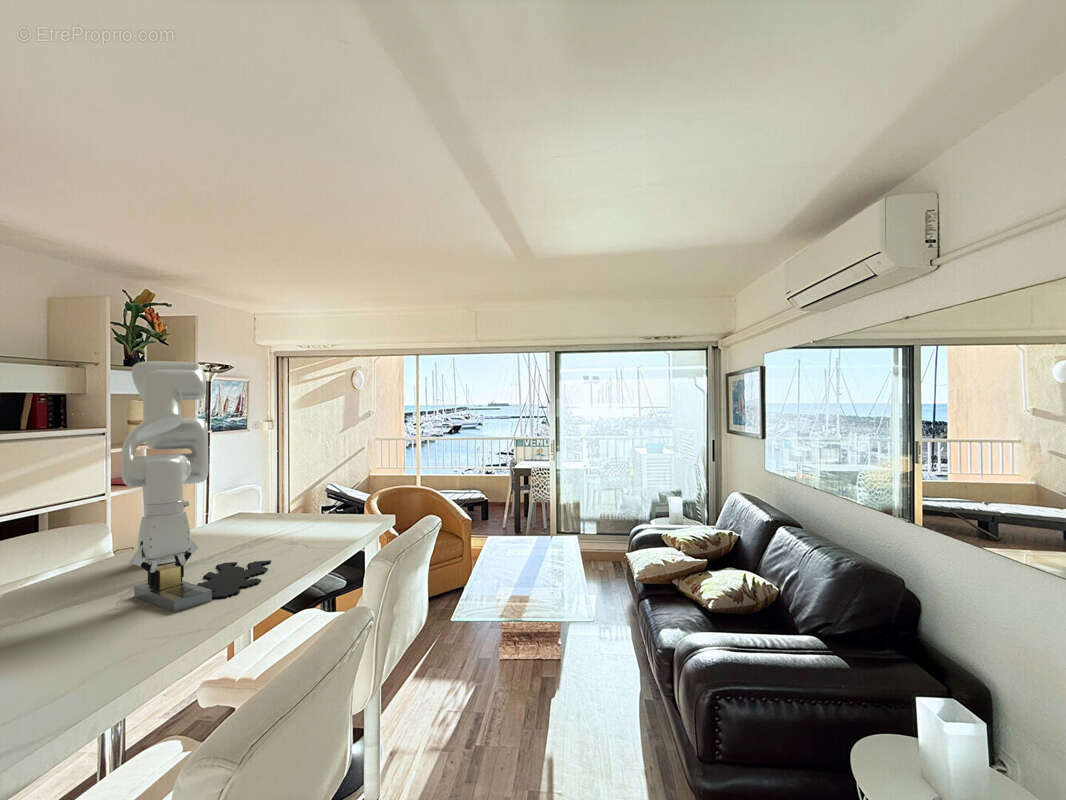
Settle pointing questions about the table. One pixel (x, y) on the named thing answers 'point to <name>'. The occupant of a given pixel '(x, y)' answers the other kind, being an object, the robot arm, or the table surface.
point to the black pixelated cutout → (233, 578)
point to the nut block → (168, 576)
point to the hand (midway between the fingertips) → (166, 583)
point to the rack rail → (174, 596)
